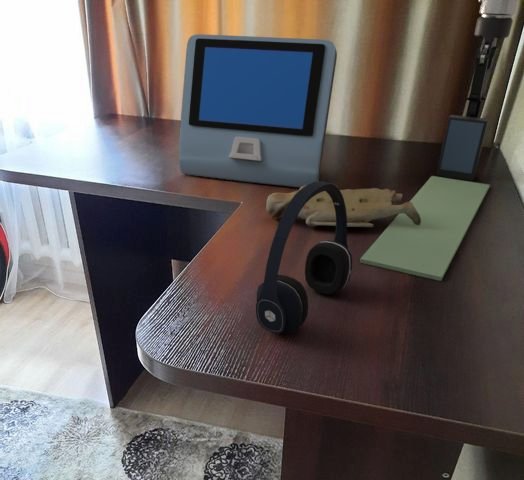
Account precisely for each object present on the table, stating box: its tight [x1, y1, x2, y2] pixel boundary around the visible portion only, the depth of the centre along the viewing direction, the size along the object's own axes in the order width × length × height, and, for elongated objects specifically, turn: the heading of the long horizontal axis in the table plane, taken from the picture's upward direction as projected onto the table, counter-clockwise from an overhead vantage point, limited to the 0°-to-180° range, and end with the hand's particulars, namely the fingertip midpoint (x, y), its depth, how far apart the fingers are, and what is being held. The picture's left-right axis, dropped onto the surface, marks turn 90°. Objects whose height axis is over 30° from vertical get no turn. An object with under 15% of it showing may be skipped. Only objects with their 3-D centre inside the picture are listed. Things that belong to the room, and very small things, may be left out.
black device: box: [435, 114, 490, 182], centre depth 125 cm, size 9×3×14 cm, turn 62°
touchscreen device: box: [178, 33, 338, 189], centre depth 121 cm, size 35×20×30 cm, turn 73°
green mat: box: [359, 175, 491, 282], centre depth 105 cm, size 14×55×1 cm, turn 152°
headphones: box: [255, 180, 353, 335], centre depth 70 cm, size 20×7×18 cm, turn 146°
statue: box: [265, 184, 421, 228], centre depth 100 cm, size 10×7×30 cm
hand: (469, 128), depth 127 cm, fingers closed
